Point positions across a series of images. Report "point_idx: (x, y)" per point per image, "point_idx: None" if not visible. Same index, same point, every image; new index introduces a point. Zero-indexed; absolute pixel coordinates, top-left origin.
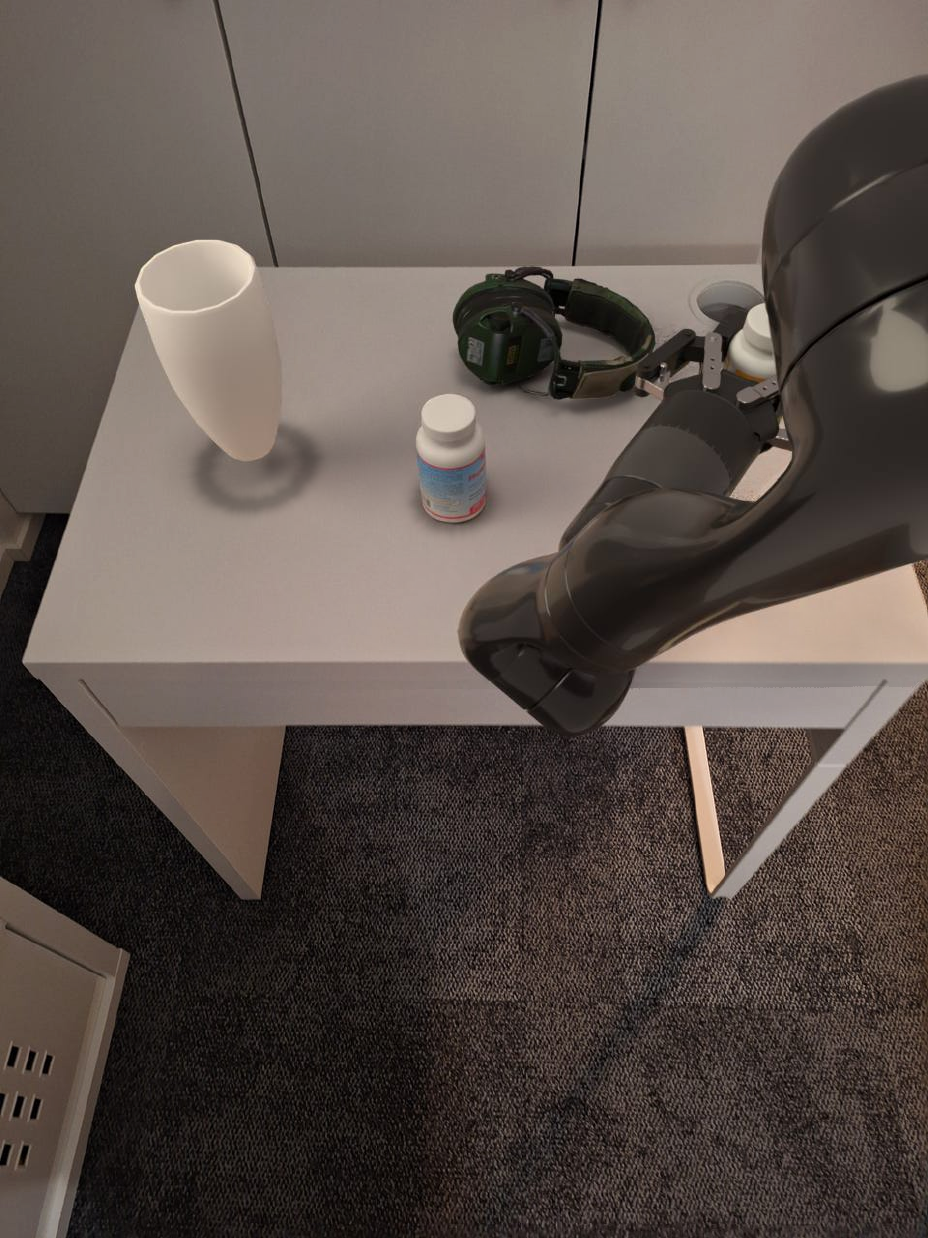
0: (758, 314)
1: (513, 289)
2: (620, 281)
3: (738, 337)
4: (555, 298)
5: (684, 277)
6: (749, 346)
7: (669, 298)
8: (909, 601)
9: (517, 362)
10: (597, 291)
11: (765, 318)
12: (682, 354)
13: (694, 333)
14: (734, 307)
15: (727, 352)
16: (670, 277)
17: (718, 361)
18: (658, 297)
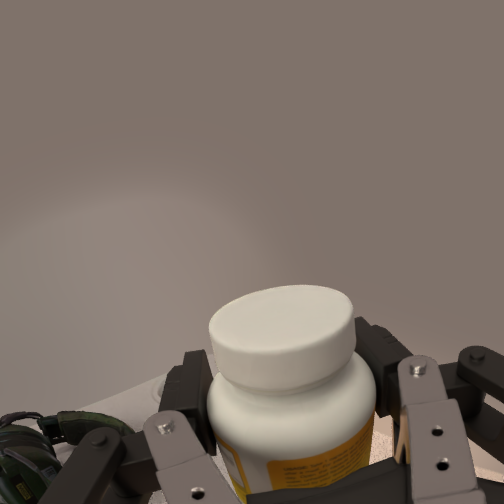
0: (234, 322)
1: (3, 435)
2: (102, 404)
3: (219, 396)
4: (53, 431)
5: (143, 385)
6: (263, 399)
7: (139, 401)
8: (493, 473)
9: (34, 495)
10: (77, 416)
11: (257, 320)
12: (121, 487)
13: (115, 434)
14: None
15: (216, 437)
16: (134, 388)
17: (221, 492)
18: (131, 404)
